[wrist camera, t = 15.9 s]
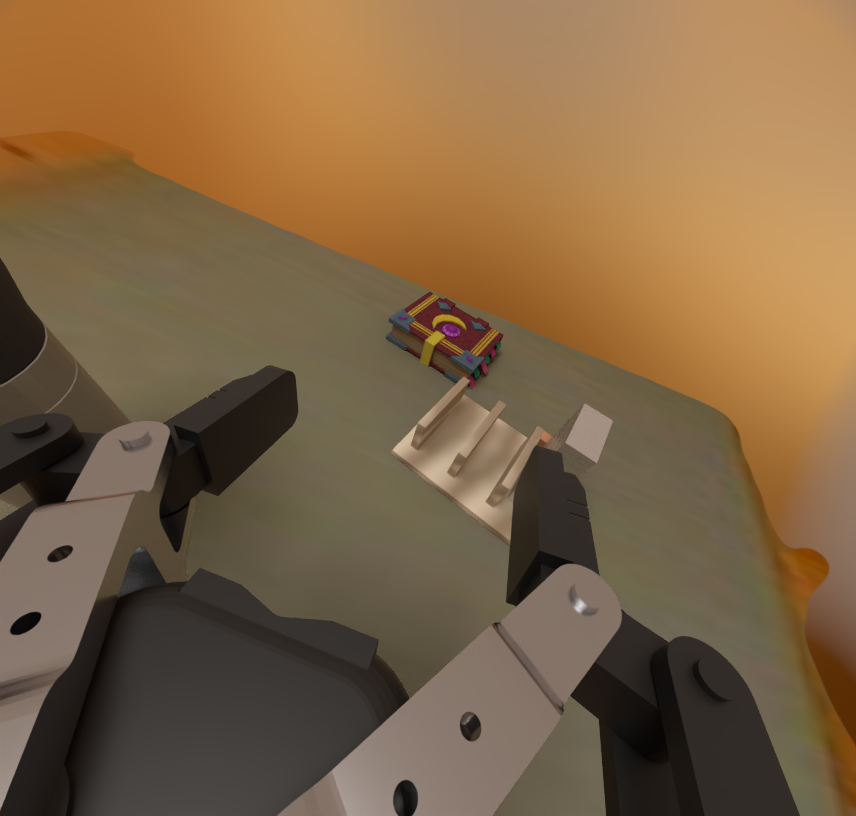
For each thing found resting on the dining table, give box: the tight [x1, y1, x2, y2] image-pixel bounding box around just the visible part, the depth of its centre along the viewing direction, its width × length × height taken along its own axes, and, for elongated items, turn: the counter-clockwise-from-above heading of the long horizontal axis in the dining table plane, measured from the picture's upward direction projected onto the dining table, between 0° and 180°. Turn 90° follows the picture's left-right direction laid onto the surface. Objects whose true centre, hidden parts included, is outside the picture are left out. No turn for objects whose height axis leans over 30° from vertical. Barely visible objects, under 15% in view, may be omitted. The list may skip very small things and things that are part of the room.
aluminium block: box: [507, 403, 613, 504], centre depth 35 cm, size 3×6×13 cm, turn 145°
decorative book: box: [386, 292, 503, 388], centre depth 52 cm, size 11×16×5 cm
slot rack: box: [391, 376, 552, 546], centre depth 40 cm, size 20×14×6 cm
